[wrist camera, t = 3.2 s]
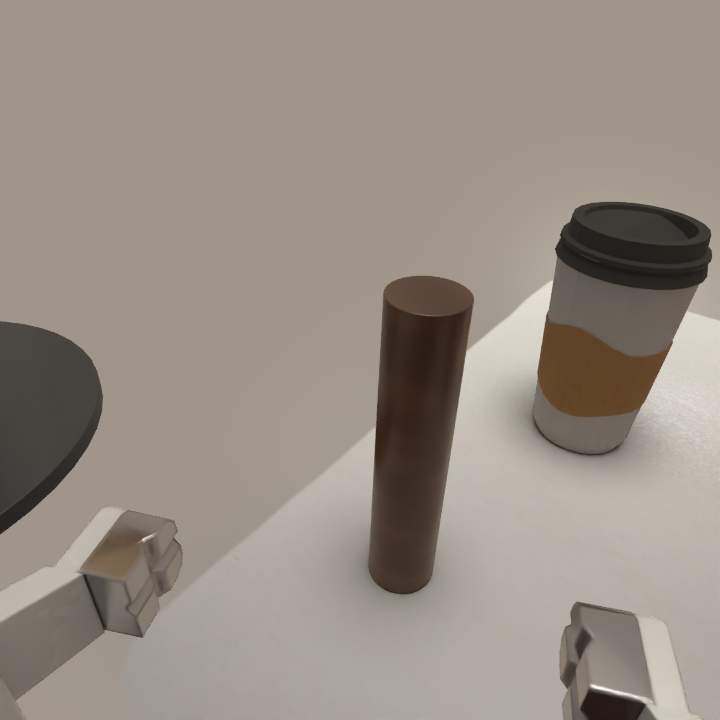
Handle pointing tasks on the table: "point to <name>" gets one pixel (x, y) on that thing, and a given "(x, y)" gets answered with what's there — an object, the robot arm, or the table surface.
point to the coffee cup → (613, 317)
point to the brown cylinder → (415, 424)
